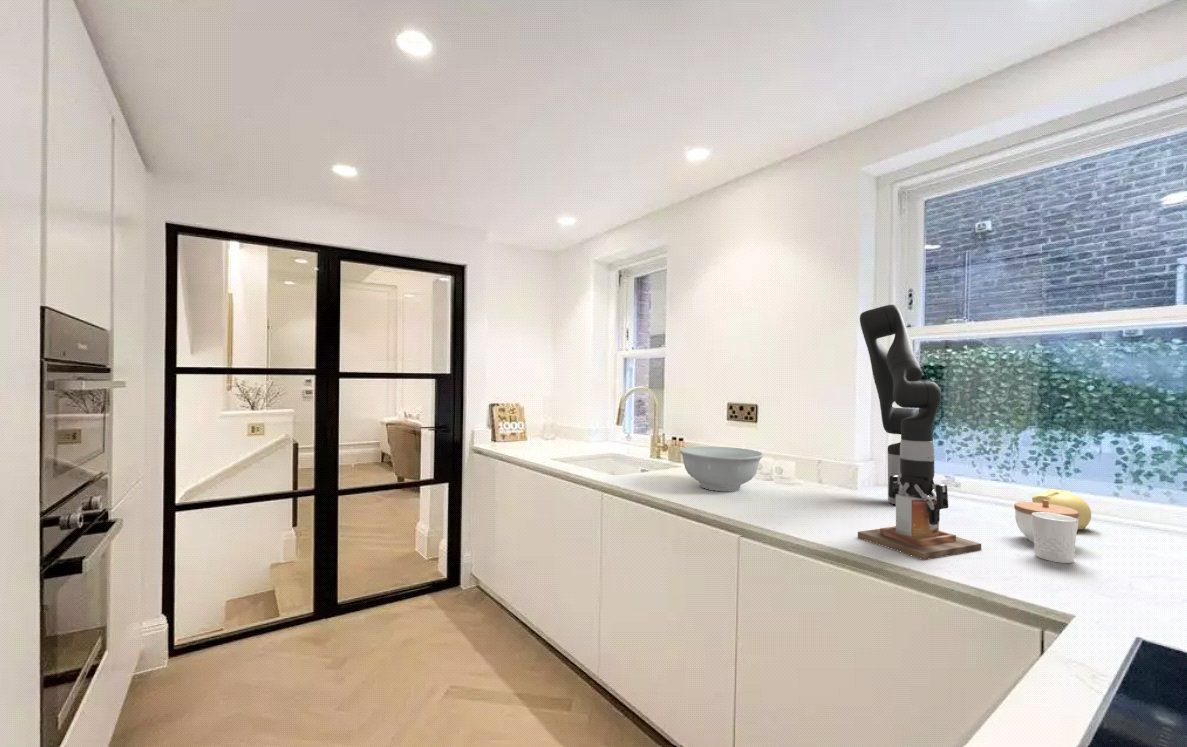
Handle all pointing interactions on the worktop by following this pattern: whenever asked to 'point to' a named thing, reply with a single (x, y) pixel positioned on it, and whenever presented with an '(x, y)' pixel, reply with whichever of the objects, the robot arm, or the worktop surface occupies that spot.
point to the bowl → (721, 466)
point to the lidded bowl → (1027, 508)
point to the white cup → (1054, 536)
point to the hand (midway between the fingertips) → (917, 519)
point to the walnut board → (920, 543)
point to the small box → (914, 517)
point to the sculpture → (1067, 504)
